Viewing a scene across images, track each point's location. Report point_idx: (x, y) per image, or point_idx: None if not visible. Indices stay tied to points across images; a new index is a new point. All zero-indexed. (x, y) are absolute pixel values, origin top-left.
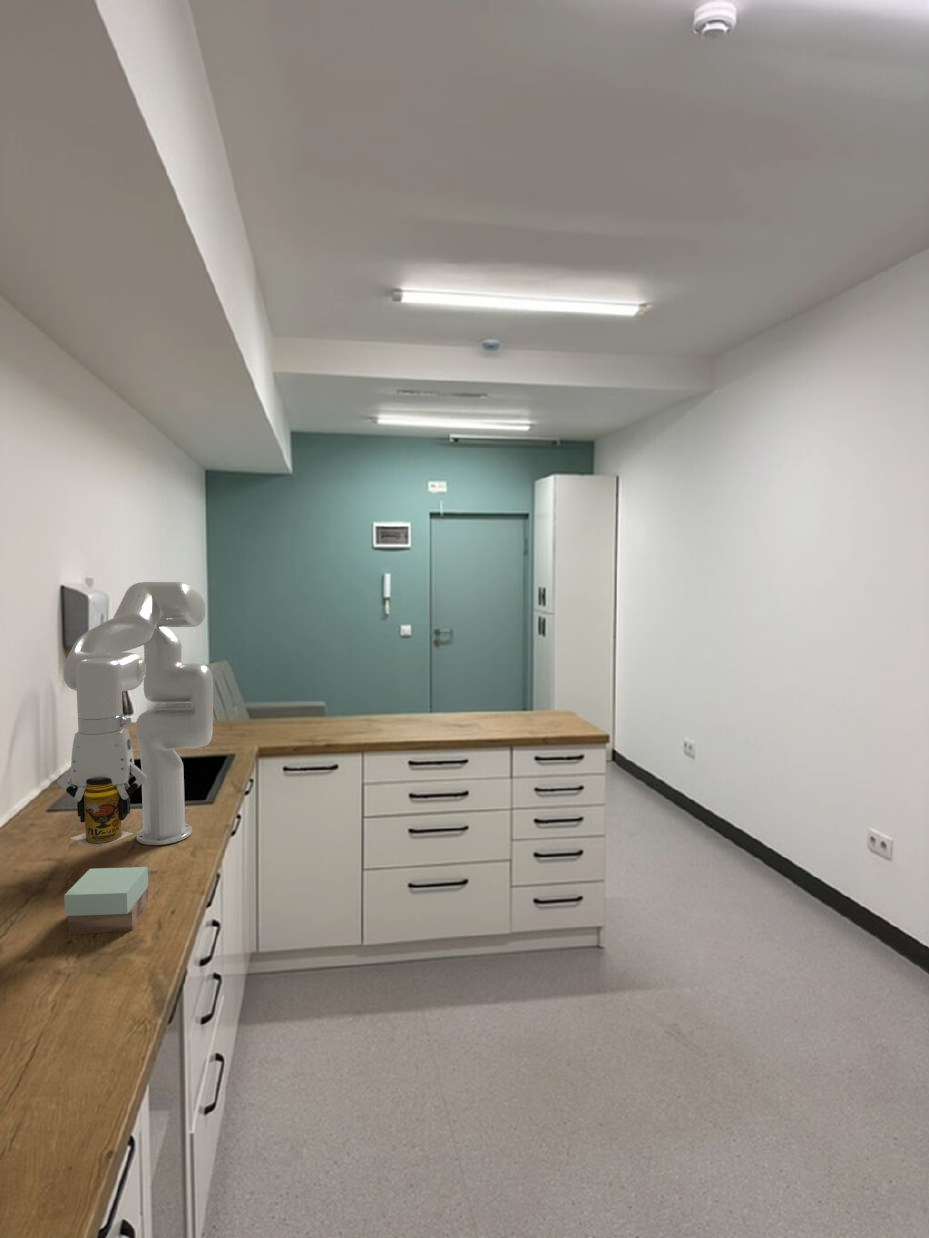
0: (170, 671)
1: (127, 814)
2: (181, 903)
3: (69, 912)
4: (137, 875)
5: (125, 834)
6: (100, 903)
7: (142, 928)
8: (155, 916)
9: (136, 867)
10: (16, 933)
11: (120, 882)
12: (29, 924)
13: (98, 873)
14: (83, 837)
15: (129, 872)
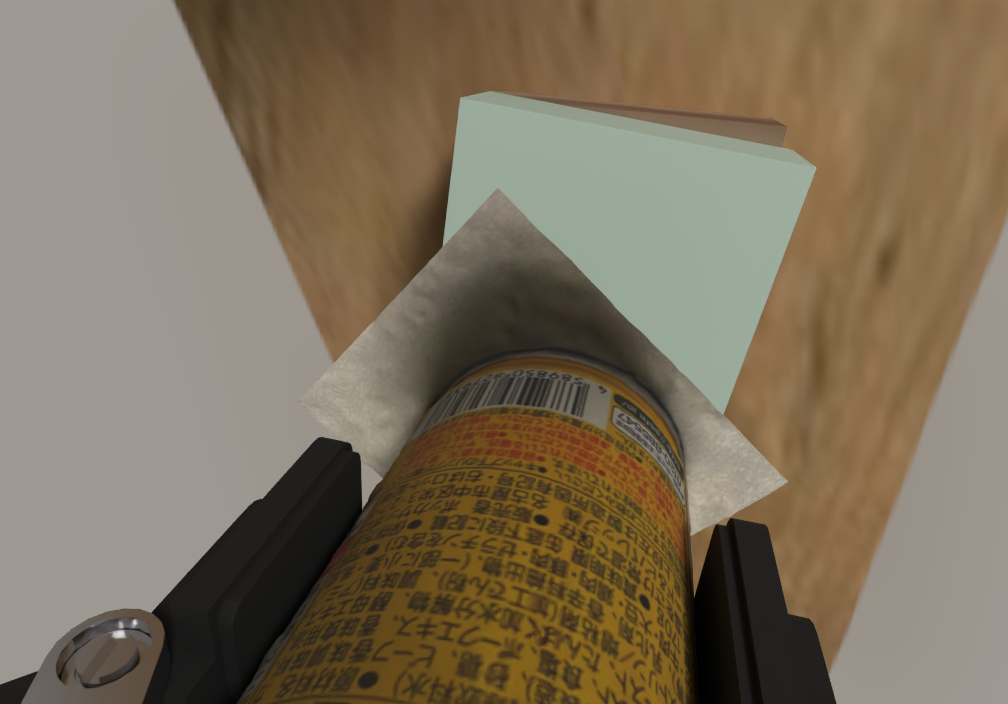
0: None
1: (762, 526)
2: (938, 181)
3: None
4: (752, 282)
5: (717, 468)
6: None
7: (747, 364)
8: (802, 280)
9: (743, 158)
10: (306, 263)
11: (663, 344)
12: (320, 205)
13: (525, 186)
14: (392, 416)
15: (703, 224)
